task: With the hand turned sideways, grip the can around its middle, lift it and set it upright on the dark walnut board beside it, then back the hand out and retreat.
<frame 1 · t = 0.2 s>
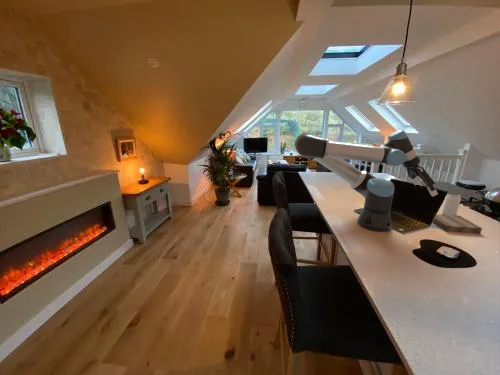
hand: (427, 191, 121), 16 cm above the kitchen island, tool tilted 35°, fingers open, 13 cm apart
walnut board: (451, 225, 116), on the kitchen island
can: (448, 214, 131), on the kitchen island
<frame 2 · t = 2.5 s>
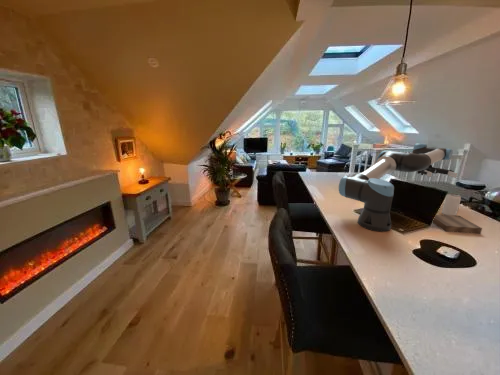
hand: (443, 175, 137), 20 cm above the kitchen island, tool horizontal, fingers open, 13 cm apart
nothing on the kitchen island moved.
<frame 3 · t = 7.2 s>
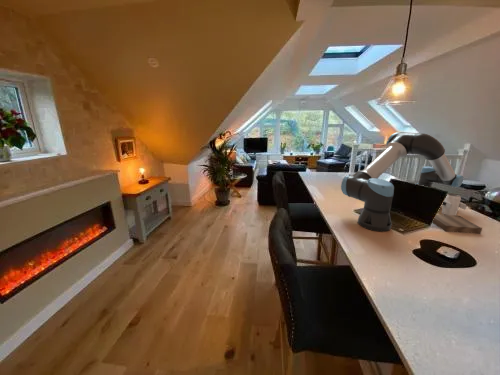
hand: (457, 206, 124), 7 cm above the kitchen island, tool horizontal, fingers closed on can, 6 cm apart
can: (448, 214, 131), on the kitchen island, touching gripper
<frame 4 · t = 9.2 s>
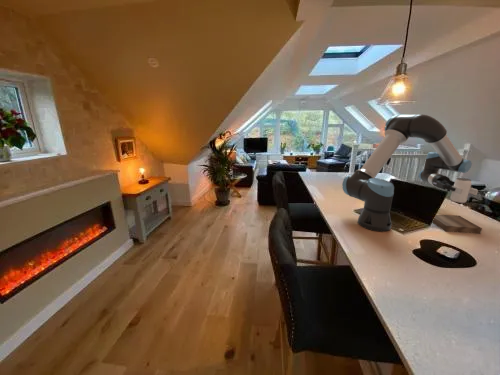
hand: (468, 192, 114), 17 cm above the kitchen island, tool horizontal, fingers closed on can, 6 cm apart
can: (457, 201, 121), point 11 cm above the kitchen island, touching gripper
when the fingers open (11 cm above the kitchen island, at t = 11.4 s): can drops 1 cm, resting on walnut board.
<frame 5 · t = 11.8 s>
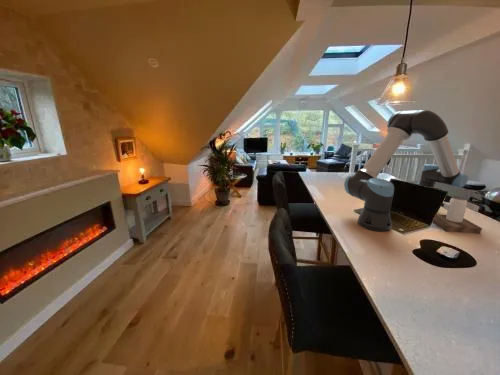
hand: (463, 208, 110), 11 cm above the kitchen island, tool horizontal, fingers open, 11 cm apart
can: (453, 220, 116), point 3 cm above the kitchen island, touching walnut board
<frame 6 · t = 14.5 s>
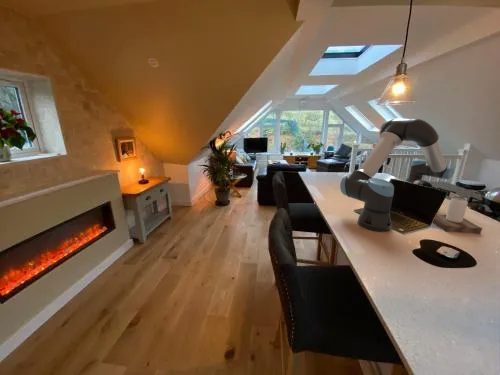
hand: (444, 197, 123), 12 cm above the kitchen island, tool horizontal, fingers open, 13 cm apart
nothing on the kitchen island moved.
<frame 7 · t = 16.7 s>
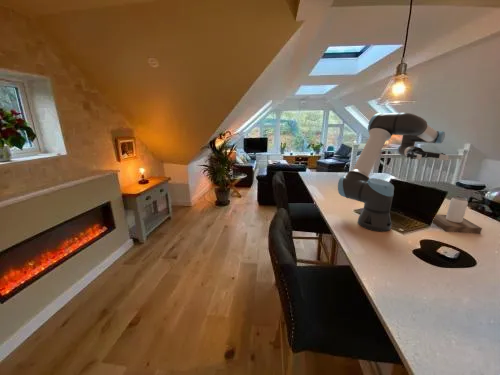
hand: (434, 157, 126), 32 cm above the kitchen island, tool horizontal, fingers open, 13 cm apart
nothing on the kitchen island moved.
at the end: can inside the target area on the walnut board (0.1 cm from its centre), point 2.8 cm above the walnut board's base; can tilted 0°; the gripper is holding nothing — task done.
